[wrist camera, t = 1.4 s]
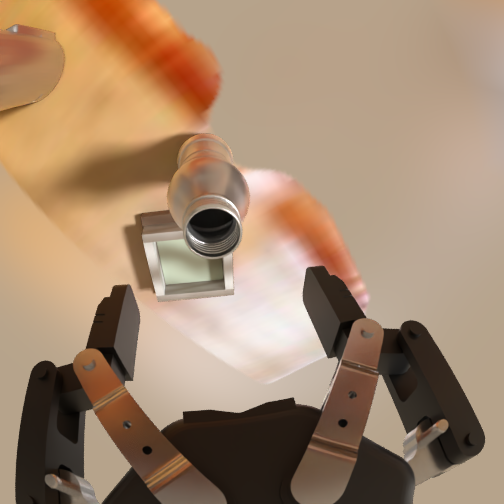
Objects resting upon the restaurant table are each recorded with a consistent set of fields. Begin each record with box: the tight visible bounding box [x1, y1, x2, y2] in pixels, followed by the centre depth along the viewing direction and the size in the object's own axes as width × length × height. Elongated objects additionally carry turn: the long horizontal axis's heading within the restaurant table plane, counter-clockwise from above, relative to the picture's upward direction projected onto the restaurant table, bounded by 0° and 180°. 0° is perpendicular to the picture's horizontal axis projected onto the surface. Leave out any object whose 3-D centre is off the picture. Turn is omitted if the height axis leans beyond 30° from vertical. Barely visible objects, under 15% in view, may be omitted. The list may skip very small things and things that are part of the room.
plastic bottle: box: [167, 134, 250, 259], centre depth 25 cm, size 6×7×20 cm
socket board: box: [141, 210, 234, 302], centre depth 39 cm, size 14×12×4 cm
